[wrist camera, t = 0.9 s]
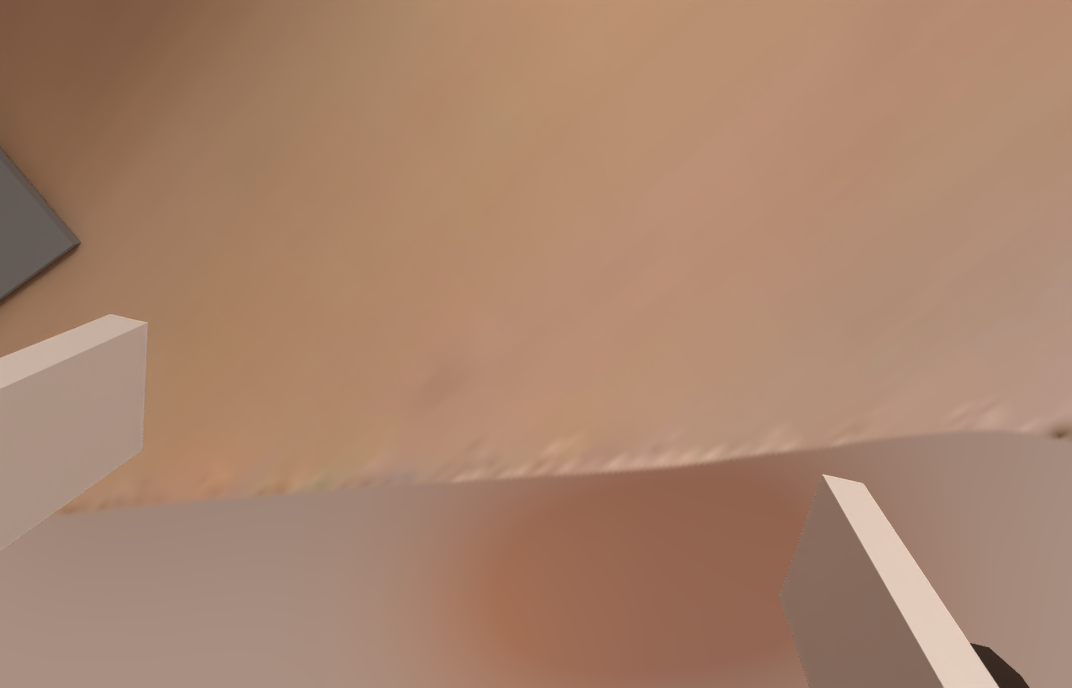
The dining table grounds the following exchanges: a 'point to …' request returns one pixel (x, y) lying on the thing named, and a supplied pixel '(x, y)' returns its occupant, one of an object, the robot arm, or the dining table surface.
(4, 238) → the slate mat
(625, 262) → the dining table surface
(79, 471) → the robot arm
